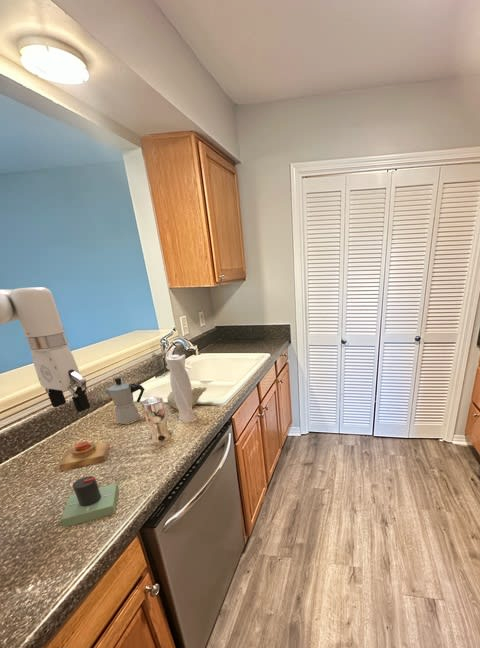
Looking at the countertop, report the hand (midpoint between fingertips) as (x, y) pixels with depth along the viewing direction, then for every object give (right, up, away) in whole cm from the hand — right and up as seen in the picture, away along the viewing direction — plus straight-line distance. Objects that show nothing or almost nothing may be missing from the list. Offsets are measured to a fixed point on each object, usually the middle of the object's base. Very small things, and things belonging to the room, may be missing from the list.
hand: (71, 407), depth 84 cm
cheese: (+10, -1, +60) cm, 61 cm away
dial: (+6, -23, -2) cm, 24 cm away
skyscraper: (+14, -6, +46) cm, 49 cm away
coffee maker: (-10, -6, +48) cm, 50 cm away
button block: (-10, -17, +22) cm, 30 cm away
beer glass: (+10, -12, +32) cm, 35 cm away
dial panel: (+6, -26, -1) cm, 26 cm away
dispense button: (-11, -14, +21) cm, 27 cm away
